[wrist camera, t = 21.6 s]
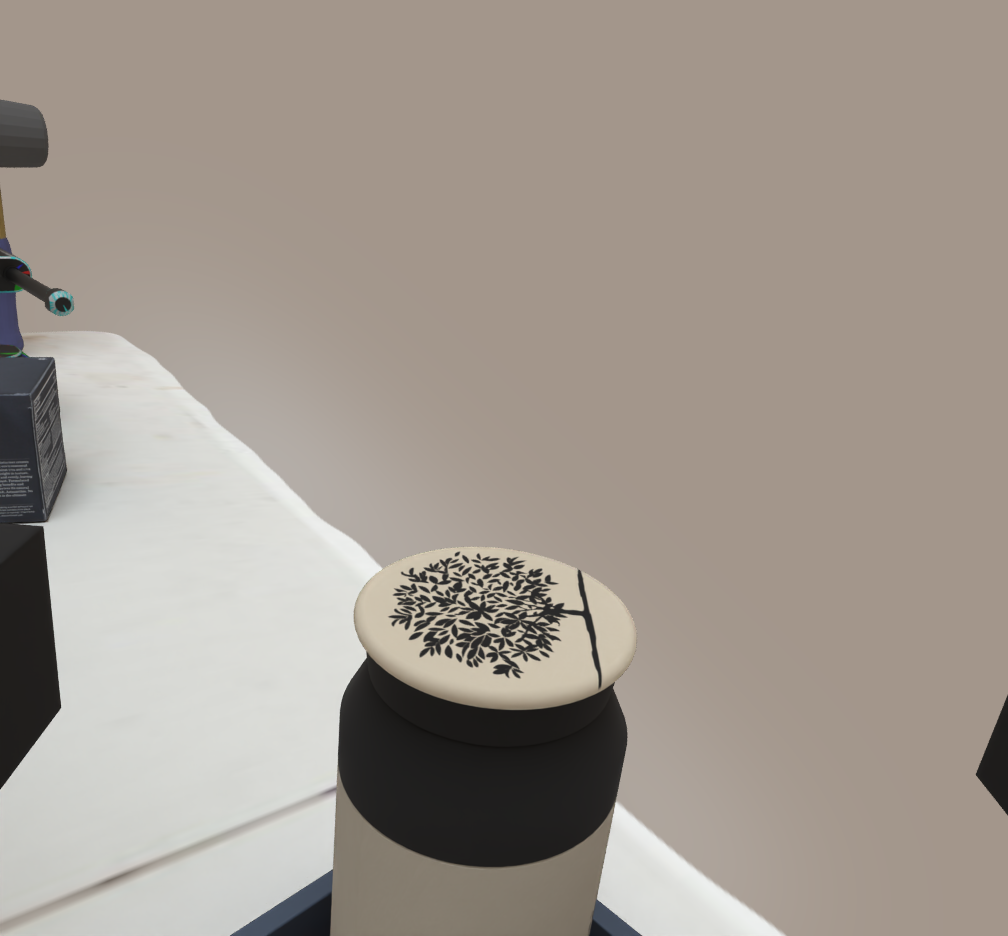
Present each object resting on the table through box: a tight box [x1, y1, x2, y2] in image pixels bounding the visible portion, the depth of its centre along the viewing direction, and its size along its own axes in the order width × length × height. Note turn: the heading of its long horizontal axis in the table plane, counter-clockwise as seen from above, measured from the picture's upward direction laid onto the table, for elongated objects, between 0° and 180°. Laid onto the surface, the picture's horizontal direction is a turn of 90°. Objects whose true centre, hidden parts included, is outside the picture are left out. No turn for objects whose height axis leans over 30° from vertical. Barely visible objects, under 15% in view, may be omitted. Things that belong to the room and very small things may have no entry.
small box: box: [0, 357, 67, 523], centre depth 65 cm, size 11×6×10 cm, turn 18°
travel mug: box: [330, 547, 637, 936], centre depth 25 cm, size 8×8×18 cm
